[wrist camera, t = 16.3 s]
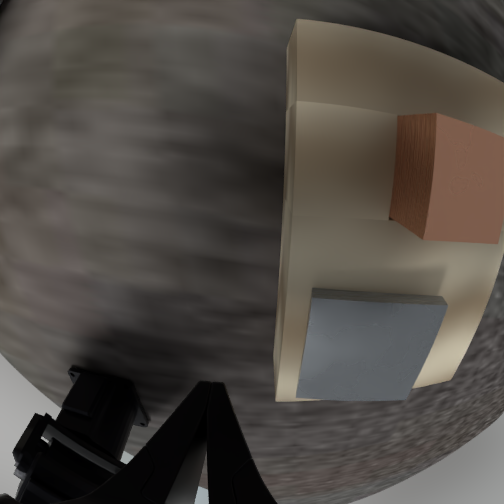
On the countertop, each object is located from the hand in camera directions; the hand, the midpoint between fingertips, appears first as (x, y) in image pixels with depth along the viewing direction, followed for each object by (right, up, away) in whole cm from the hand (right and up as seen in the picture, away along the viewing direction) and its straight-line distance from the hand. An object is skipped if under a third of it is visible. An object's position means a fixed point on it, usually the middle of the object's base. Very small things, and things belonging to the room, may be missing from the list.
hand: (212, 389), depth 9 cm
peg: (+9, +9, +4) cm, 14 cm away
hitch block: (+9, +6, +6) cm, 12 cm away
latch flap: (+7, 0, +3) cm, 7 cm away
